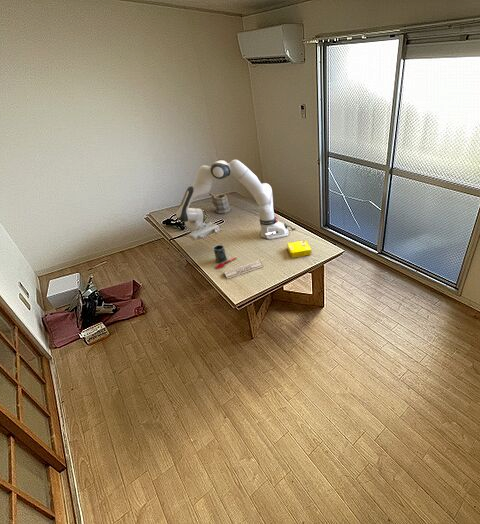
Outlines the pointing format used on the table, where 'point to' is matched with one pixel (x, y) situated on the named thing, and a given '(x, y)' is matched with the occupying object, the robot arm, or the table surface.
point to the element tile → (298, 249)
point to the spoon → (223, 263)
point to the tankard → (220, 203)
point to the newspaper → (242, 269)
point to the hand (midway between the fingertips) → (210, 235)
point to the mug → (220, 253)
